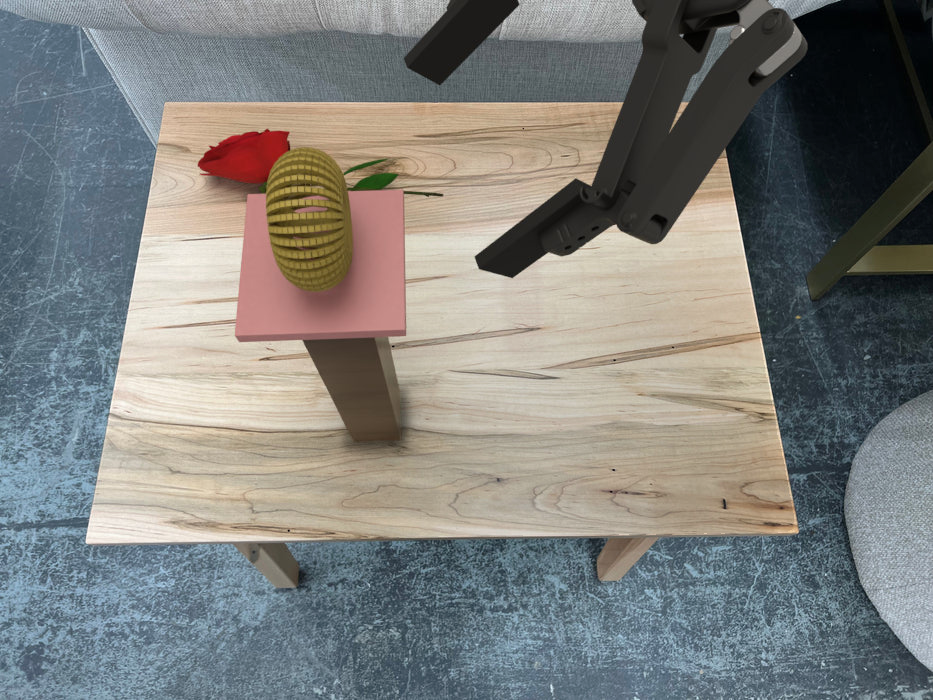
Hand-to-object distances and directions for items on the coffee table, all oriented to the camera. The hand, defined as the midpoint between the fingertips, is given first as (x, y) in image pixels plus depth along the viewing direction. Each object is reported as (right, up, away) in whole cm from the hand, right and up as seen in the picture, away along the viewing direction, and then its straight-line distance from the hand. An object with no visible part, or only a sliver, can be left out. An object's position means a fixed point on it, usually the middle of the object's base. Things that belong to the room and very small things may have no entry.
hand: (454, 164), depth 37 cm
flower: (-17, +9, +46) cm, 50 cm away
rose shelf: (-8, -5, +6) cm, 11 cm away
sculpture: (-8, -5, +5) cm, 11 cm away
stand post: (-9, -17, +35) cm, 40 cm away
